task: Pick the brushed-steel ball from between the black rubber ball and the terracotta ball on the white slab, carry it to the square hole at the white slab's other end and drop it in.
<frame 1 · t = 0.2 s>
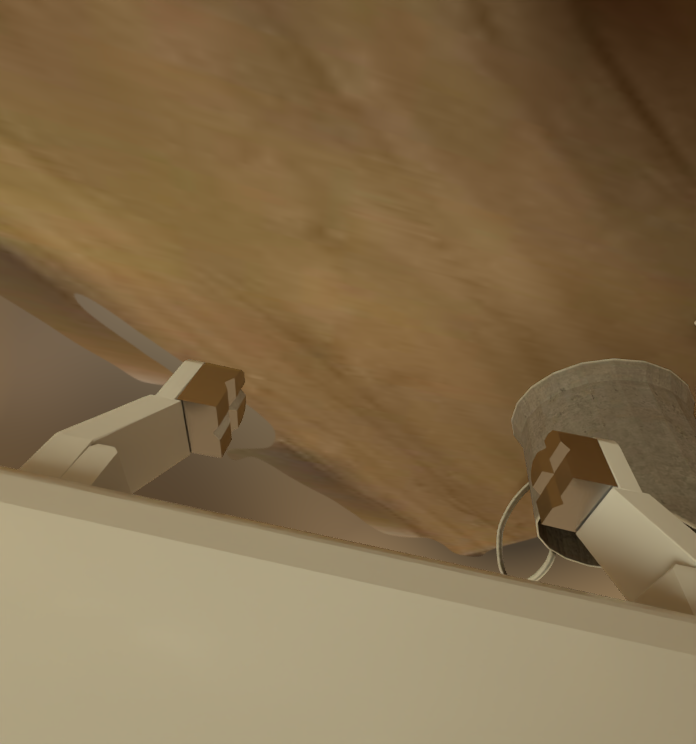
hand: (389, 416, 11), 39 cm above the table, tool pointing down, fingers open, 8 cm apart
pitcher: (570, 431, 64), on the table
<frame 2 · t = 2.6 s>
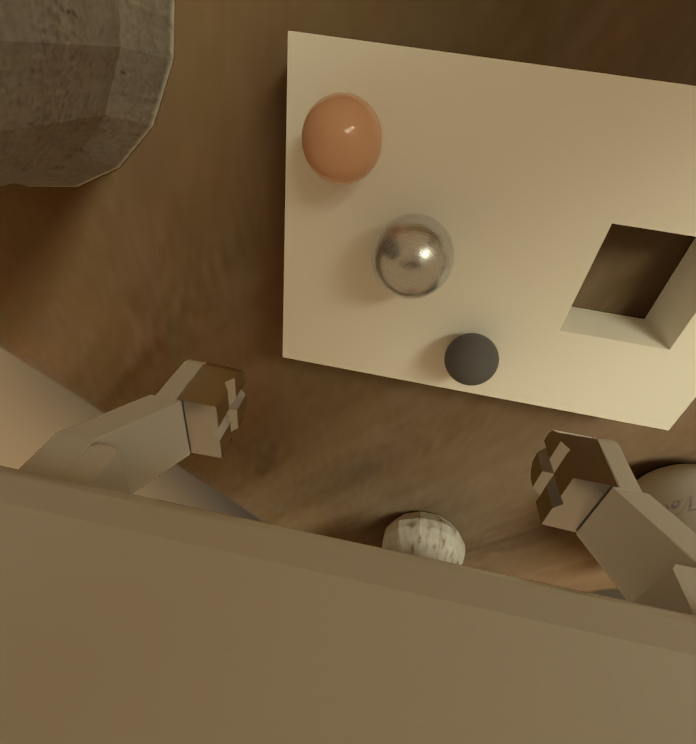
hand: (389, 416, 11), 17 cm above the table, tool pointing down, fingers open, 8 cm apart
teacup: (666, 499, 35), on the table
terracotta ball: (342, 140, 18), point 5 cm above the table, touching white slab
decorative mushroom: (423, 528, 43), on the table
black rubber ball: (471, 359, 24), point 5 cm above the table, touching white slab
steel ball: (412, 257, 20), point 5 cm above the table, touching white slab
white slab: (506, 246, 25), on the table
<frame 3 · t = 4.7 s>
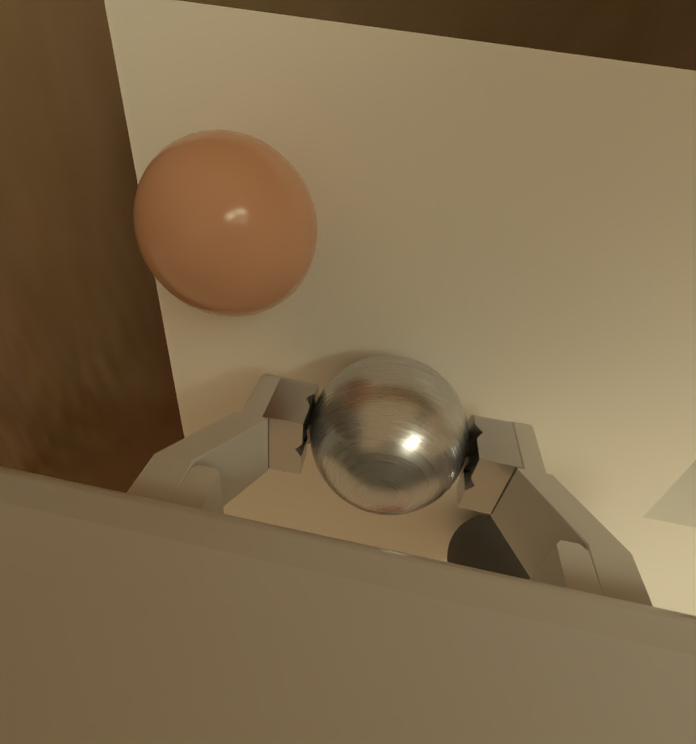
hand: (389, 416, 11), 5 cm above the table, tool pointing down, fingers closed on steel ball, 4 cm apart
terracotta ball: (230, 229, 8), point 5 cm above the table, touching white slab
black rubber ball: (492, 561, 14), point 5 cm above the table, touching white slab
steel ball: (387, 432, 11), point 5 cm above the table, touching gripper, white slab
white slab: (549, 365, 15), on the table
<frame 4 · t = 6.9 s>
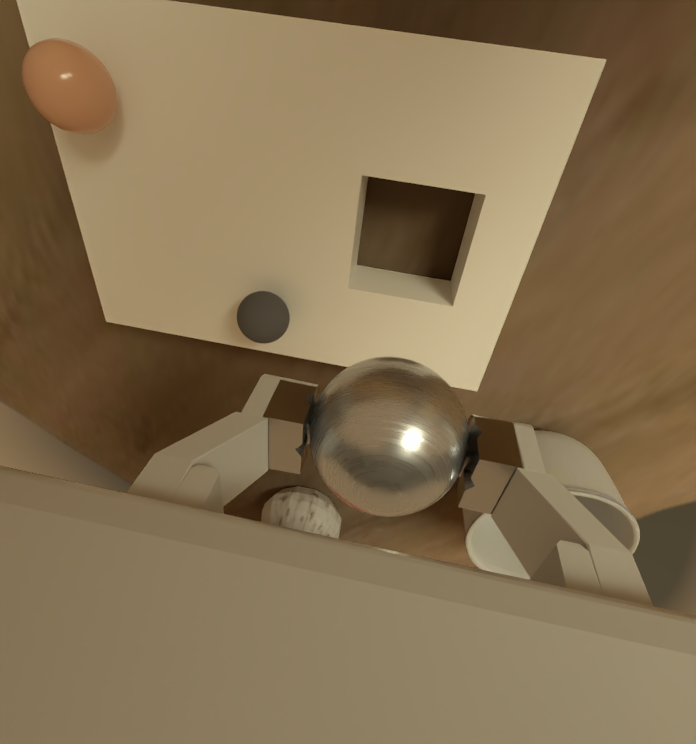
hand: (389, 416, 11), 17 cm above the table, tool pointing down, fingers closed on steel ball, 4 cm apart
teacup: (521, 469, 35), on the table
terracotta ball: (71, 89, 18), point 5 cm above the table, touching white slab
decorative mushroom: (306, 504, 43), on the table
black rubber ball: (263, 317, 24), point 5 cm above the table, touching white slab
steel ball: (387, 434, 11), point 17 cm above the table, touching gripper
white slab: (305, 207, 25), on the table
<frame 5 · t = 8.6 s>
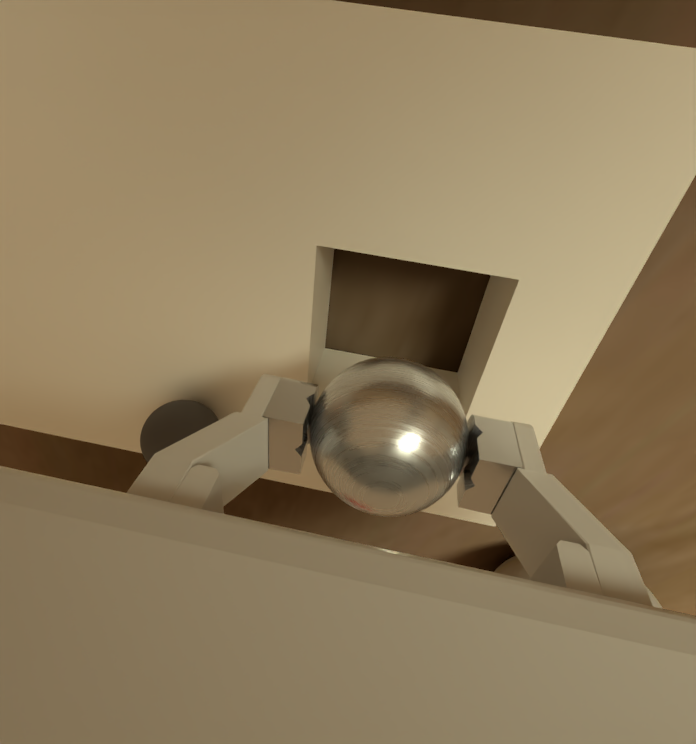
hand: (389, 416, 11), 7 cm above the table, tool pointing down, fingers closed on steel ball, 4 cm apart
teacup: (545, 584, 27), on the table
black rubber ball: (182, 438, 16), point 5 cm above the table, touching white slab
steel ball: (387, 434, 11), point 8 cm above the table, touching gripper
white slab: (247, 272, 17), on the table
when the fingers open (7 cm above the table, at t = 9.1 s): steel ball drops 6 cm and tips over, point 2 cm above the table.
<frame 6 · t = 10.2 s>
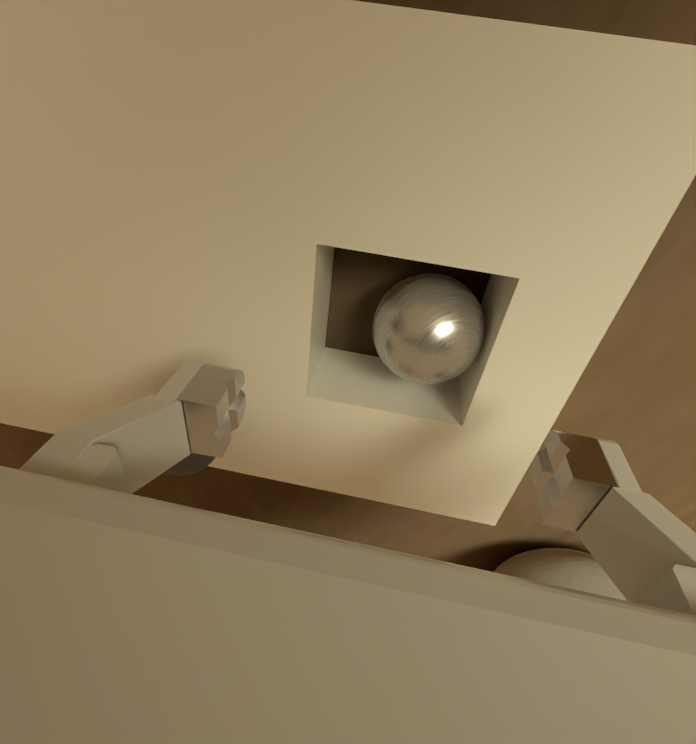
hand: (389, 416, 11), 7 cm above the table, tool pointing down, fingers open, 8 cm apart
teacup: (545, 583, 27), on the table
black rubber ball: (182, 437, 16), point 5 cm above the table, touching white slab
steel ball: (427, 329, 15), point 2 cm above the table, tilted 31°
white slab: (247, 271, 17), on the table
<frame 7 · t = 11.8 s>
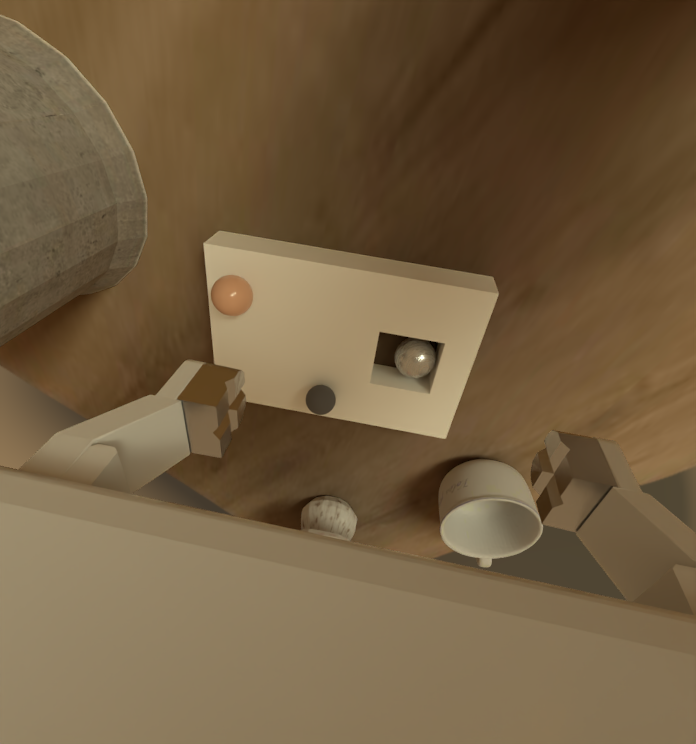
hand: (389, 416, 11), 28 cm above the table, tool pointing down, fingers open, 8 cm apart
teacup: (478, 483, 53), on the table
terracotta ball: (232, 295, 36), point 5 cm above the table, touching white slab
decorative mushroom: (331, 508, 60), on the table
black rubber ball: (320, 399, 42), point 5 cm above the table, touching white slab
steel ball: (414, 357, 41), point 2 cm above the table, tilted 28°
white slab: (343, 333, 43), on the table
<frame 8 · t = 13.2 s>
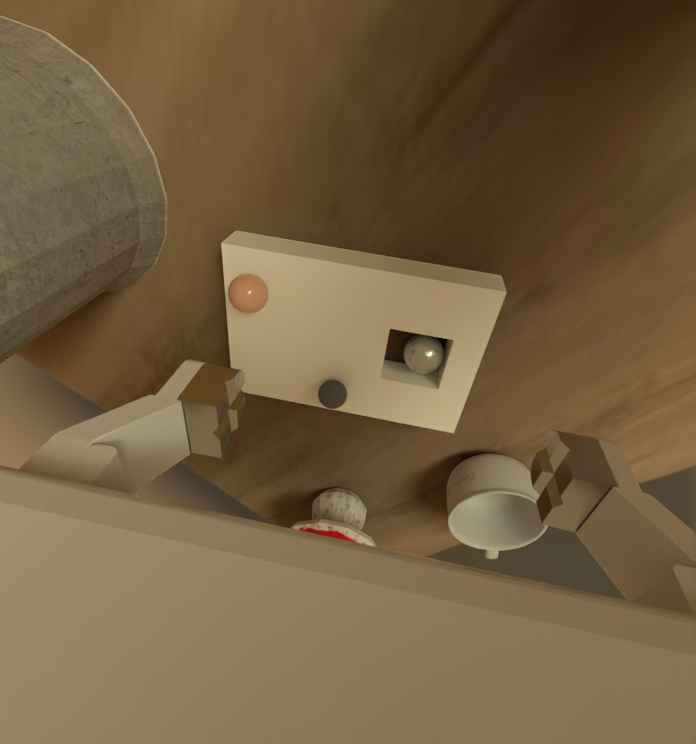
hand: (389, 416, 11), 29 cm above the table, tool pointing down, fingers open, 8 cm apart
teacup: (486, 477, 54), on the table
pitcher: (6, 147, 39), on the table
terracotta ball: (248, 293, 37), point 5 cm above the table, touching white slab
decorative mushroom: (341, 500, 62), on the table
black rubber ball: (332, 394, 43), point 5 cm above the table, touching white slab
steel ball: (423, 353, 42), point 2 cm above the table, tilted 25°
white slab: (355, 330, 44), on the table
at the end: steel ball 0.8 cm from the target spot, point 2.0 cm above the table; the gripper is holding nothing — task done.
